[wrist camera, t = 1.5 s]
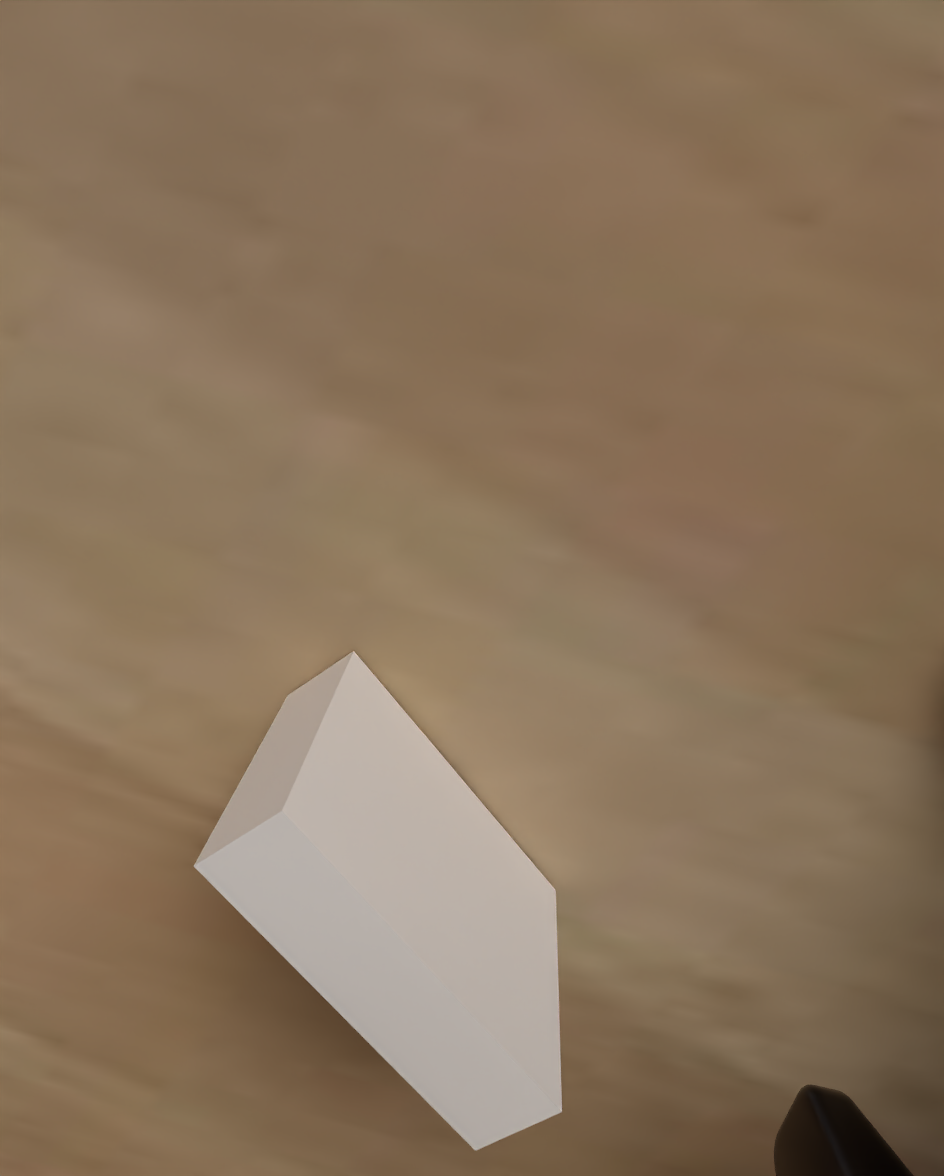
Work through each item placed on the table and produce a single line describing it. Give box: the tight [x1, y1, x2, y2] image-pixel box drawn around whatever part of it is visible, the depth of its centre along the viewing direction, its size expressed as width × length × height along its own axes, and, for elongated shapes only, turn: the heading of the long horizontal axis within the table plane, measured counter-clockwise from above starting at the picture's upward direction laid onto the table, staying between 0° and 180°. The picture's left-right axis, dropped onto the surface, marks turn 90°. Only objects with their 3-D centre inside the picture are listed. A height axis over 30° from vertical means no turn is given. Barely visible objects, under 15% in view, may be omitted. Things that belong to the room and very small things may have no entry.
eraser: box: [194, 651, 562, 1151], centre depth 11 cm, size 1×5×4 cm, turn 37°
